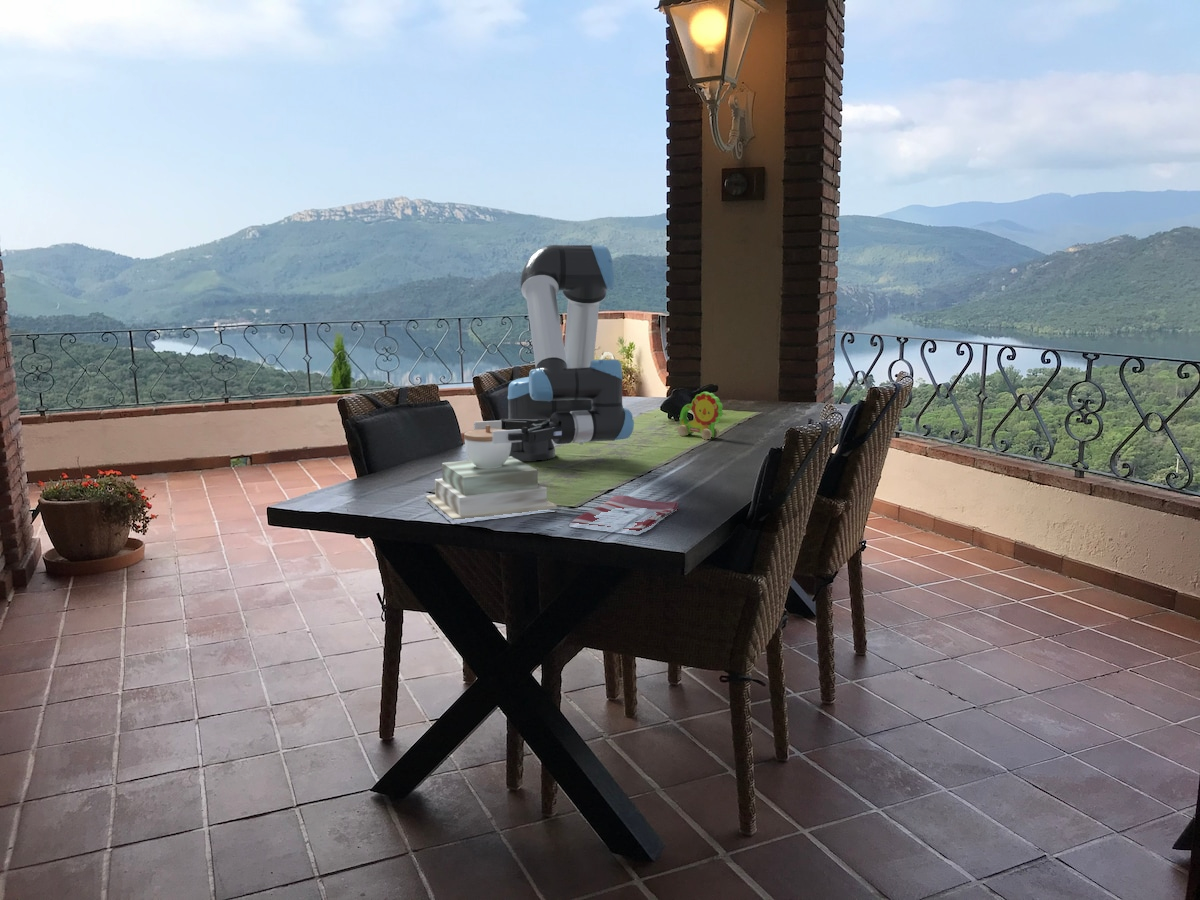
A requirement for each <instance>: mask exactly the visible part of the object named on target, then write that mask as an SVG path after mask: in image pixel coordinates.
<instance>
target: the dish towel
mask: <svg viewBox="0 0 1200 900" xmlns="http://www.w3.org/2000/svg"><path fill="white" fill-rule="evenodd" d="M615 508H622V509H624V508H647V509H650V510H653V511H655V512H656V513H657V514H656V515H654V516H651V517H649V518H647V520H645V521H644V522H643V521H642V522H635V523H637V525H635V526H634V527H632V528H623V529H629V530H636V531H640V530H642V529H645V528H647V527H649V526H651V525H652V524H654V523H656V522H657V521H658V520H659V519H661V518H663V517H665V516H667V515H669V514H670V513H672V512H674V511H675V510H676V509H678V510H679V501H659V500H658V501H653V500H648V499H641V498H637V497H633V496H629V495H613V496H612V497H611V498H610V499H608V500H607V501H606V502H604V503H602V504H600V505H599V506H597V507H594V508H592V509H590V510H588V511H587V512H584V513H583V514H581V515H578V516H577V517H576V518H574V520H572V521H570V522H569V523H579V524H589V523H588V522H593V521H595V520H597V519H599V518H595V517H594V516H596V515H599V514H600V513H601V512H608V511H611V510H612V509H615ZM589 525H598V526H605V525H599V524H589ZM607 527H611V526H607Z"/></svg>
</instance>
